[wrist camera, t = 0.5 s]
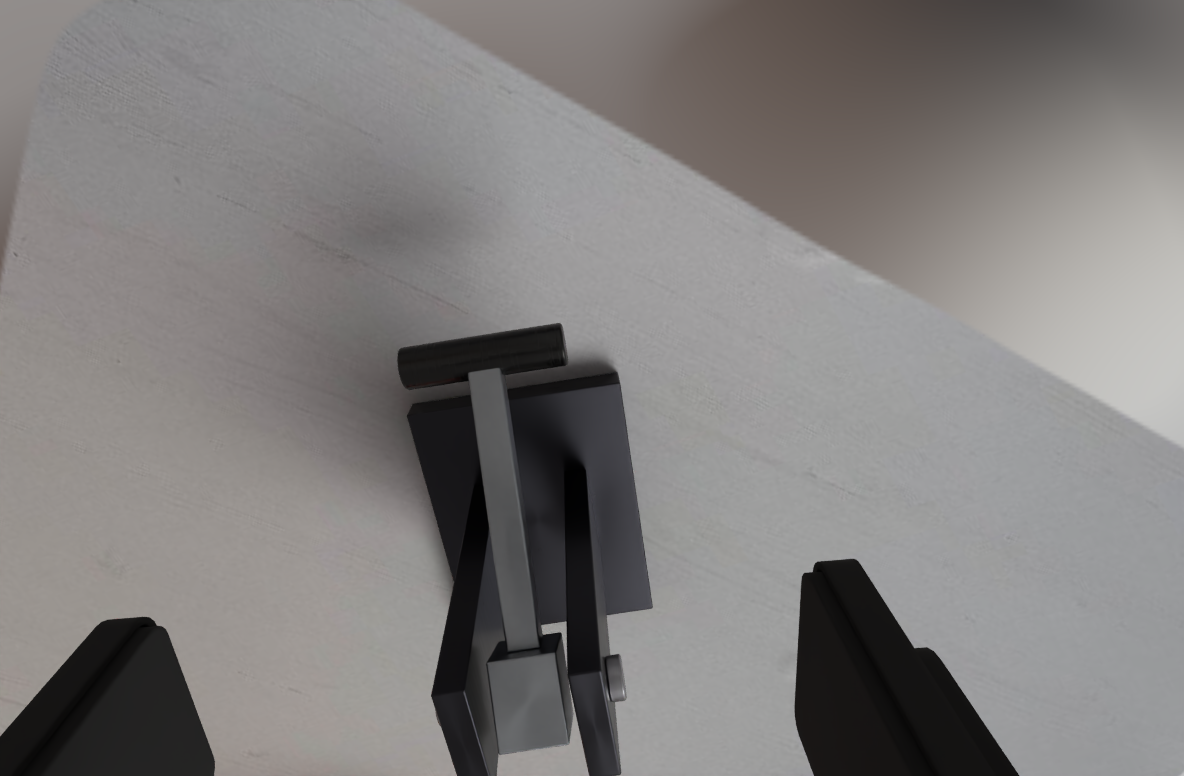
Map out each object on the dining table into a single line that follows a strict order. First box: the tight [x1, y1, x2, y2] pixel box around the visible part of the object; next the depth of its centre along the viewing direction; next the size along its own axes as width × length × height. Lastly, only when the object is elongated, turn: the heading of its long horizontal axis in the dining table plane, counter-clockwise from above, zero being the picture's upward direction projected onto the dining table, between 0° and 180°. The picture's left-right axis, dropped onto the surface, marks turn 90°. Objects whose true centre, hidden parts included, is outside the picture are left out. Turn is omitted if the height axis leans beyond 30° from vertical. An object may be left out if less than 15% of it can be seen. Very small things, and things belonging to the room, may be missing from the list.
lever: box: [397, 323, 573, 755], centre depth 24 cm, size 13×6×2 cm, turn 8°
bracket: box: [407, 372, 653, 776], centre depth 27 cm, size 12×9×13 cm
